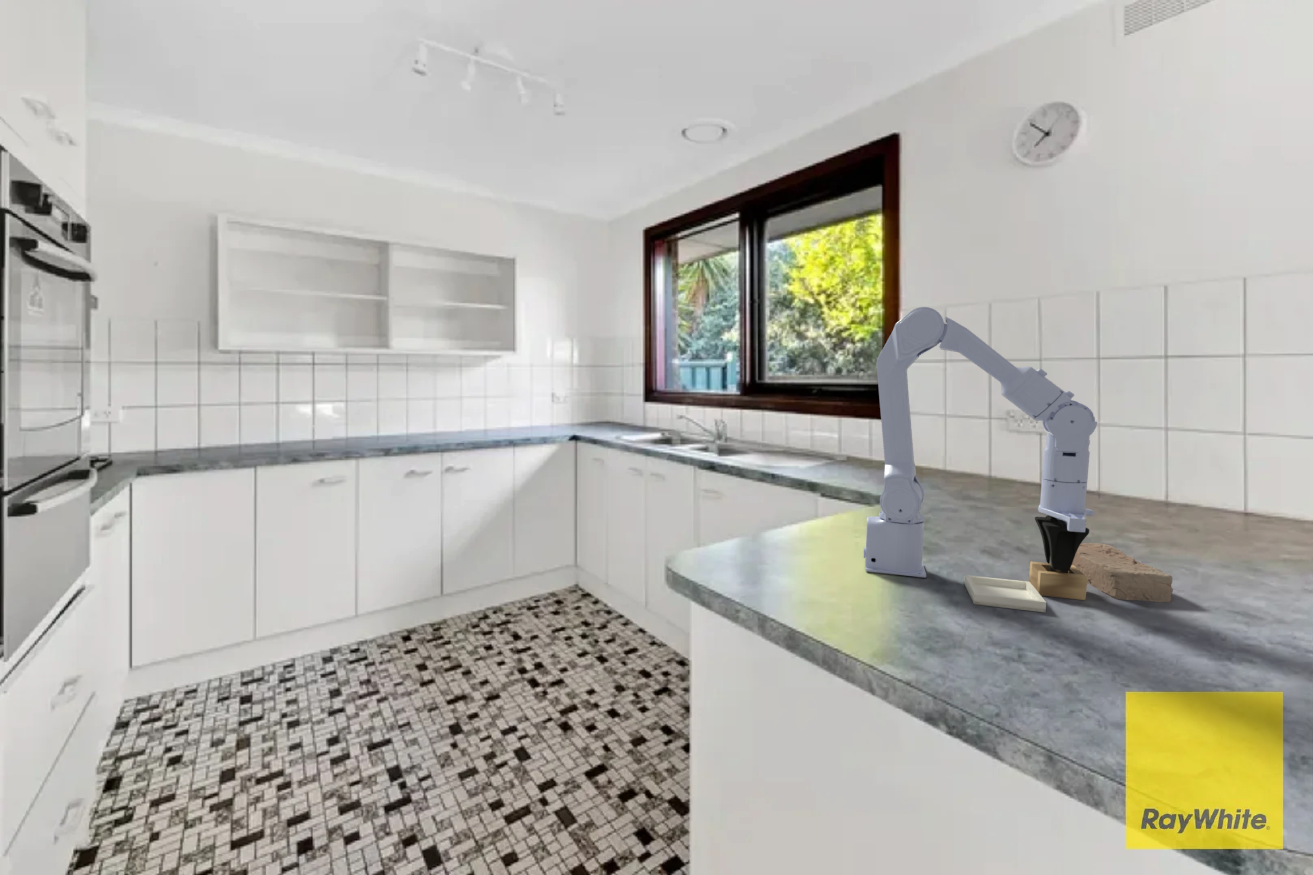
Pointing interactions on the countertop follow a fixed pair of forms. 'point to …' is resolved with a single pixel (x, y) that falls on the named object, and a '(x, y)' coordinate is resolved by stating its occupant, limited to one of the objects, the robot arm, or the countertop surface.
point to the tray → (1004, 593)
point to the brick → (1121, 574)
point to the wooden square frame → (1058, 581)
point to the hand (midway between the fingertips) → (1057, 566)
